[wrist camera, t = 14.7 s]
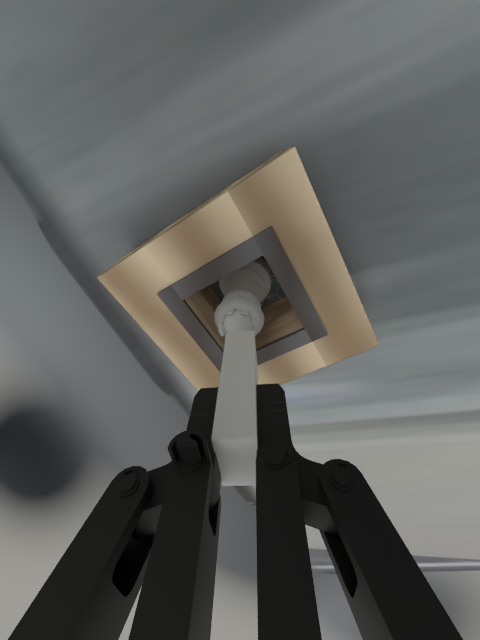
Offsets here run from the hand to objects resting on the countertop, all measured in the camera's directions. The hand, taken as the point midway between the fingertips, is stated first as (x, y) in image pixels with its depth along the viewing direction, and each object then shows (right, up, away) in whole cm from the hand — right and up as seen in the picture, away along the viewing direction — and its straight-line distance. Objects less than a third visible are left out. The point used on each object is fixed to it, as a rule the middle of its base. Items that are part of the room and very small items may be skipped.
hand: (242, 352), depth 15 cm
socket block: (0, +5, +9) cm, 10 cm away
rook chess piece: (0, +6, +9) cm, 10 cm away
